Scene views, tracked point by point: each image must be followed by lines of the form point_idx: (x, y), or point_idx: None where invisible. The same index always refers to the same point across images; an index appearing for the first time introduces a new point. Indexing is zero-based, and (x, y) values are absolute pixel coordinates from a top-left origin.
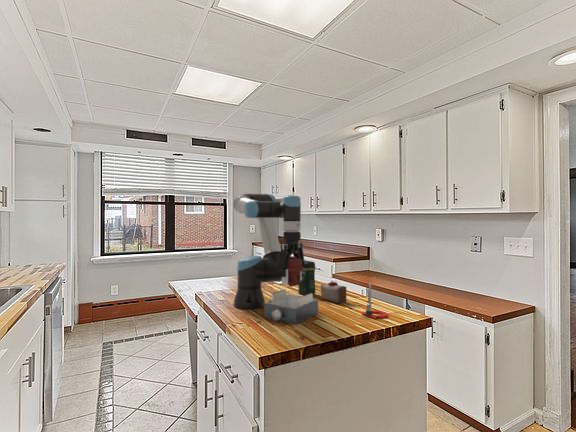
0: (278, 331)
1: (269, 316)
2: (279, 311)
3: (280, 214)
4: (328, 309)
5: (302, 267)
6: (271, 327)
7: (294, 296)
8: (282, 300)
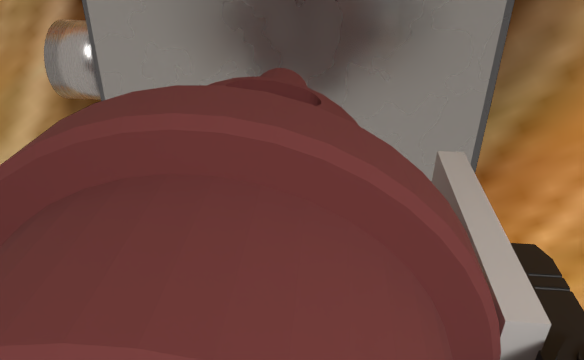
0: (6, 143)
1: None
2: (77, 92)
3: None
4: (580, 198)
5: None
6: (16, 72)
7: (457, 25)
8: (236, 9)
